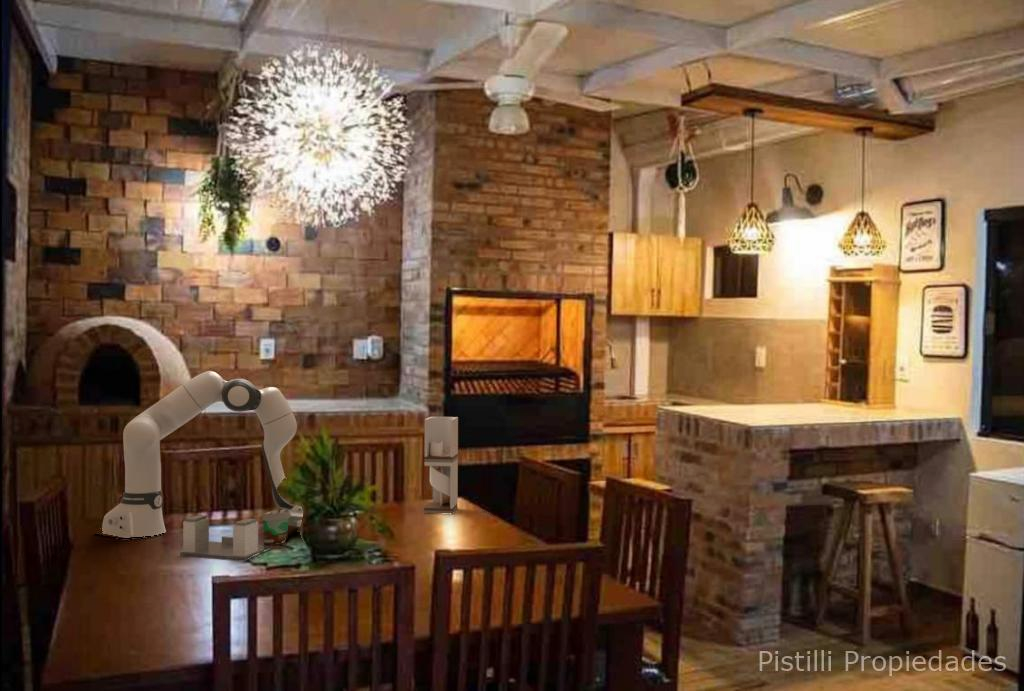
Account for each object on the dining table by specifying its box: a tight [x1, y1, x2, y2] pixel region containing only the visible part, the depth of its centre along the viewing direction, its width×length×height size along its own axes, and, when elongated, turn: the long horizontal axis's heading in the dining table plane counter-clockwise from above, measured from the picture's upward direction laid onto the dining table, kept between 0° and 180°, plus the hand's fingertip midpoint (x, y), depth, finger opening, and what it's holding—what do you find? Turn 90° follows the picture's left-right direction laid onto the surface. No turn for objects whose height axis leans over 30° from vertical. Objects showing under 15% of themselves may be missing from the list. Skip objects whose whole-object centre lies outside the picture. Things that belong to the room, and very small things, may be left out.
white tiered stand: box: [423, 416, 459, 515], centre depth 344 cm, size 11×11×35 cm
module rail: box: [179, 514, 273, 561], centre depth 277 cm, size 22×15×11 cm
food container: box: [261, 507, 291, 546], centre depth 292 cm, size 12×6×10 cm, turn 168°
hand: (283, 523), depth 294 cm, fingers open, 8 cm apart
